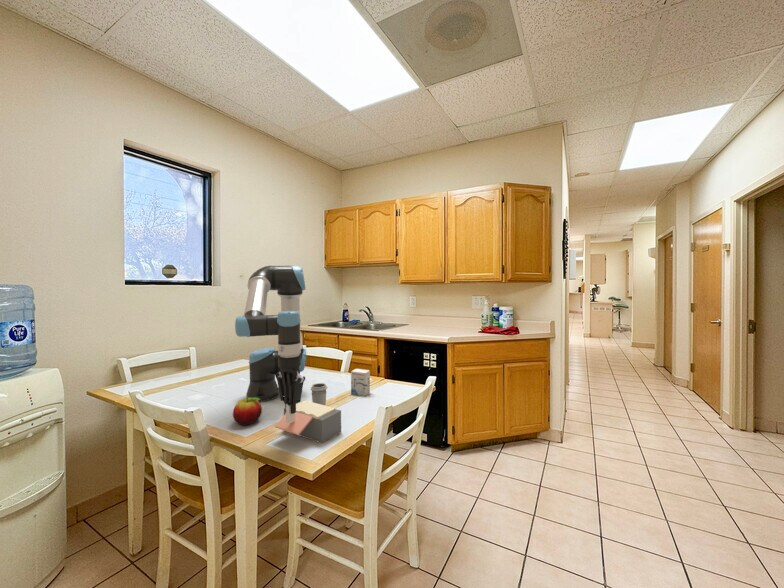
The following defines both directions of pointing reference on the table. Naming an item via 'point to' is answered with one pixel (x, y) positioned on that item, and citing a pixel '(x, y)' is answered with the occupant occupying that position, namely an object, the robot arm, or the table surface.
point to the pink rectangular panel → (294, 423)
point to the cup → (319, 393)
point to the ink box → (360, 382)
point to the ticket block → (319, 421)
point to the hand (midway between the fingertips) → (290, 421)
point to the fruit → (247, 411)
